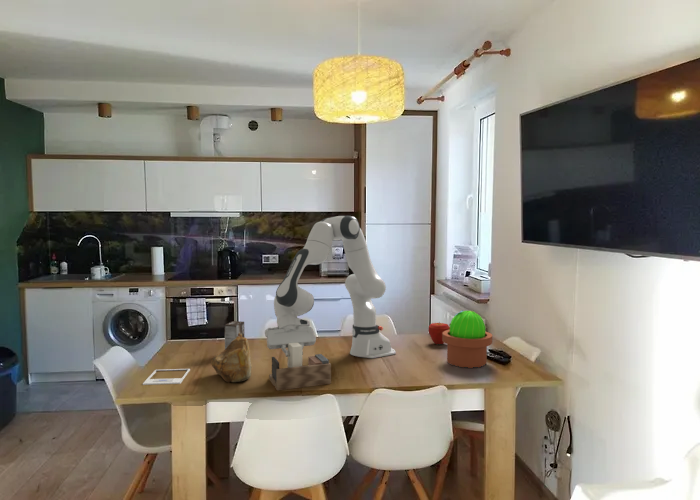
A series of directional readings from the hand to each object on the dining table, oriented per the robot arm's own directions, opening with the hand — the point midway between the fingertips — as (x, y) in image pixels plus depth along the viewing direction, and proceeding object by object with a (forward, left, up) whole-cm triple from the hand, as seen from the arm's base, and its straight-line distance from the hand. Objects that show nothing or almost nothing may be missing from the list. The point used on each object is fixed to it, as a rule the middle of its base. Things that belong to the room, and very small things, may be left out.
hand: (294, 355), depth 202 cm
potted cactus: (-81, +2, -11) cm, 82 cm away
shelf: (-2, 0, -11) cm, 11 cm away
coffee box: (+17, -47, -11) cm, 51 cm away
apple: (-87, -32, -11) cm, 93 cm away
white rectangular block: (0, 0, -7) cm, 7 cm away
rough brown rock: (+23, -17, -11) cm, 31 cm away
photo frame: (+48, -25, -12) cm, 55 cm away
